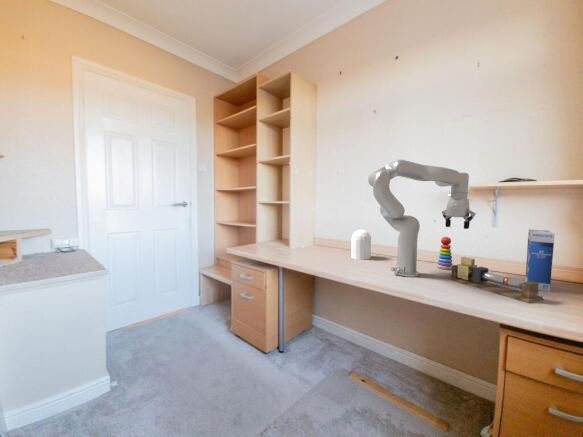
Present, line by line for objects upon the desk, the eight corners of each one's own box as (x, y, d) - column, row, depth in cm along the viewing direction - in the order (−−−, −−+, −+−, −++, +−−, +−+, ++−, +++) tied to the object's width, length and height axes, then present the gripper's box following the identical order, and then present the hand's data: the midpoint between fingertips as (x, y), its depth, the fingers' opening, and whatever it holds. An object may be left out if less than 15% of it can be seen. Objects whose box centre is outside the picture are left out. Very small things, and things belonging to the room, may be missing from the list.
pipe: (454, 272, 126) (454, 265, 126) (459, 272, 128) (459, 264, 127) (528, 292, 98) (529, 283, 98) (534, 291, 100) (534, 282, 100)
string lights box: (524, 281, 123) (528, 229, 121) (546, 284, 118) (550, 230, 116) (527, 288, 113) (530, 231, 111) (551, 292, 108) (555, 233, 106)
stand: (447, 278, 127) (447, 265, 126) (460, 276, 130) (460, 263, 130) (528, 303, 96) (529, 285, 96) (542, 299, 100) (543, 282, 99)
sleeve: (457, 277, 123) (458, 257, 123) (466, 275, 126) (467, 256, 125) (467, 280, 119) (468, 260, 118) (476, 278, 121) (477, 258, 121)
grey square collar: (472, 281, 117) (472, 268, 117) (480, 279, 119) (481, 266, 119) (479, 282, 114) (479, 269, 114) (487, 281, 116) (488, 268, 116)
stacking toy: (455, 270, 143) (457, 237, 141) (441, 270, 143) (443, 237, 142) (447, 266, 151) (448, 235, 149) (434, 266, 151) (435, 235, 149)
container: (374, 257, 175) (374, 229, 174) (365, 260, 166) (365, 230, 164) (356, 254, 185) (357, 227, 183) (347, 257, 175) (347, 229, 174)
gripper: (439, 196, 140) (437, 226, 141) (471, 195, 124) (469, 229, 125) (447, 196, 143) (445, 226, 144) (480, 196, 127) (478, 229, 128)
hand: (456, 227), depth 135 cm, fingers open, 9 cm apart
